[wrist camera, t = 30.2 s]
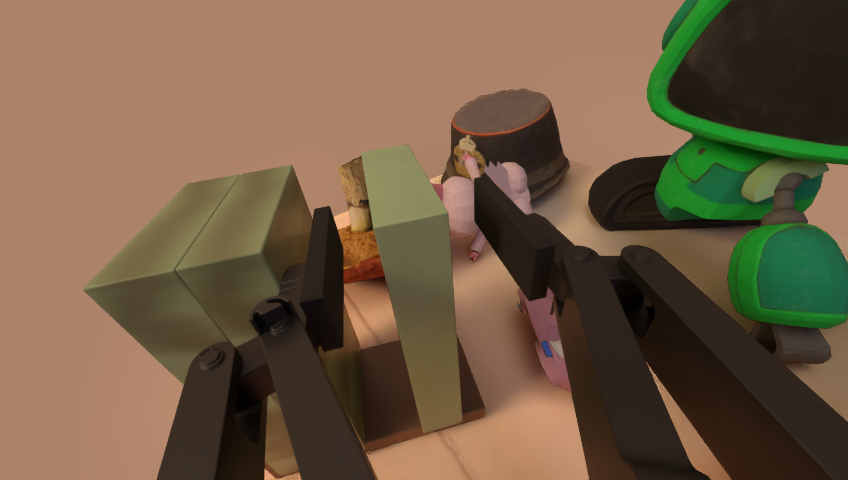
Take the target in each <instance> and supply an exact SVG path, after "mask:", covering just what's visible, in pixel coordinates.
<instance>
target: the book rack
mask: <svg viewBox="0 0 848 480" xmlns="http://www.w3.org/2000/svg"><path fill="white" fill-rule="evenodd" d="M312 221H313V219H312V216H311V214H310V211H309V208H308V206H307V203H306V200H305V198H304V195H303V192H302V190H301V187H300V184H299V182H298V179H297V177H296V174H295V171H294V168H293V166H291V165H290V166H284V167H279V168H274V169H267V170H262V171H256V172H251V173H246V174H241V175H234V176H228V177H223V178H217V179H211V180H206V181H200V182H195V183H189V184H187V185H186V186H185V187H184V188H183V189H182V190H181V191H180V192H179V193H178V194H177V195H176V196H175V197H174V198H173V199H172V200H171V201H170V202H169V203H168V204H167V205H166V206H165V207H164V208H163V209H162V210H161V211H160V212H159V213H158V214H157V215H156V216H155V217H154V218H153V219H152V220H151V221H150V222H149V223H148V224H147V225H146V226H145V227H144V228H143V229H142V230H141V231H140V232H139V233H138V234H137V235H136V236H135V237H134V238H133V239H132V240H131V241H130V242H129V243H128V244H127V245H126V246H125V247H124V248H123V249H122V250H121V251H120V252H119V253H118V254H117V255H116V256H115V257H114V258H113V259H112V260H111V261H110V262H109V263H108V264H107V265H106V266H105V267H104V268H103V269H102V270H101V271H100V272H99V273H98V274H97V275H96V276H95V277H94V278H93V279H92V280H91V281H90V282H89V283H88V284H87V285H86V286H85V287H84V288H83V291H84V292H85V293H86V294H88V295H89V296H90V297H91V298H92V299H93V300H94V301H95V302H96V303H97V304H98V305H99V306H100V307H101V308H102V309H104V310H105V311H106V312H107V313H108V314H109V315H110V316H111V317H112V318H113V319H114V320H115V321H116V322H117V323H119V324H120V326H122V327H123V328H124V329H125V330H126V331H127V332H128V333H129V334H130V335H131V336H132V337H133V338H134V339H135V340H137V342H139V343H140V344H141V345H142V346H143V347H144V348H145V349H146V350H147V351H148V352H149V353H150V354H151V355H152V356H154V358H156V359H157V360H158V361H159V362H160V363H161V364H162V365H163V366H164V367H165V368H166V369H167V370H168V371H169V372H170V373H171V374H173V375H174V376H175V377H176V378H177V379H178V380H179V381H180V382H181V383H182V384H183V385H184V383H185V379H186V376H187V373H188V369H189V366H190V364H191V362H192V361H193V359H194V358H195V357H196V356H197V355H198V354H199V353H200V352H201V351H203V350H204V349H205V348H207V347H209V346H211V345H213V344H215V343H219V342H230V343H231V344H232V345H233V346H234V347H237V346H239V345H241V344H243V343H245V342H247V341H249V340H251V339H253V338H255V337H257V336H258V333H257V332H256V330H255V329H254V327H253V326H252V324H251V323H250V321H249V315H250V313H251V311H252V309H253V308H254V307H255V306H256V305H257V304H258V303H260V302H261V301H263V300H265V299H266V298H269V297H272V296H278V294H279V292H280V286H281V282H282V278H283V274H284V273H285V271H286V270H287V269H288V268H289V266H290V265H295V264H299V263H304V262H306V258H307V252H308V246H309V240H310V234H311V228H312ZM457 347H458V362H459V376H460V391H461V406H462V421H463V422H461V423H457V424H454V425H451V426H447V427H444V428H440V429H437V430H434V431H430V432H427V433H423V431H422V426H421V422H420V418H419V414H418V410H417V406H416V402H415V398H414V394H413V389H412V385H411V381H410V377H409V373H408V369H407V365H406V361H405V357H404V352H403V348H402V344H401V340H398V341H394V342H390V343H387V344H383V345H379V346H375V347H371V348H367V349H363V350H360V344H359V342H358V339H357V336H356V334H355V331H354V328H353V326H352V323H351V320H350V318H349V315H348V312H347V310H346V307H345V304H344V347H343V348H339V349H334V350H330V351H326V352H323V350H322V348H321V346H320V345H319V356H320V358H321V360H322V362H323V364H324V366H325V368H326V370H327V372H328V375H329V377H330V379H331V381H332V383H333V385H334V387H335V389H336V392H337V394H338V396H339V398H340V400H341V402H342V404H343V407H344V409H345V411H346V413H347V415H348V417H349V419H350V421H351V424H352V426H353V428H354V430H355V432H356V434H357V436H358V438H359V441H360V443H361V445H362V447H363V449H364V451H365V452H368V451H371V450H375V449H378V448H381V447H385V446H388V445H392V444H395V443H398V442H402V441H405V440H408V439H412V438H415V437H418V436H422V435H425V434H429V433H432V432H435V431H439V430H442V429H445V428H449V427H452V426H455V425H459V424H462V423H466V422H469V421H472V420H476V419H479V418H482V417H485V406H484V404H483V401H482V398H481V396H480V393H479V391H478V388H477V385H476V383H475V380H474V378H473V375H472V372H471V370H470V367H469V364H468V362H467V359H466V357H465V354H464V351H463V349H462V346H461V344H460V341H459V338H458V336H457ZM265 469H266V470H267V471H269V473H271V474H272V475H273V476H274V477H275V478H276V479H277V478H281V477H284V476H287V475H291V474H294V473H297V472H299V469H298V466H297V462H296V459H295V455H294V452H293V448H292V445H291V442H290V438H289V435H288V431H287V428H286V424H285V421H284V418H283V414H282V411H281V407H280V404H279V400H278V397H277V394H276V392H275V393H273V394H271V395H269V396H268V403H267V425H266V448H265Z"/></svg>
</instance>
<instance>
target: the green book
mask: <svg viewBox="0 0 848 480" xmlns="http://www.w3.org/2000/svg"><path fill="white" fill-rule="evenodd" d="M361 157H362V163H363V169H364V175H365V181H366V187H367V193H368V199H369V205H370V211H371V217H372V223H373V229H374V233H375V237H376V241H377V245H378V250H379V254H380V258H381V262H382V266H383V270H384V274H385V278H386V282H387V287H388V291H389V295H390V299H391V303H392V307H393V311H394V315H395V319H396V324H397V328H398V332H399V336H400V340H401V344H402V348H403V352H404V357H405V361H406V365H407V369H408V373H409V377H410V381H411V385H412V389H413V394H414V398H415V402H416V406H417V410H418V414H419V418H420V422H421V426H422V431H423V433H427V432H430V431H434V430H437V429H440V428H444V427H447V426H451V425H454V424H457V423H461V422H463V421H462V406H461V391H460V376H459V362H458V347H457V332H456V317H455V303H454V288H453V273H452V258H451V244H450V229H449V214H448V211H447V210H446V208H445V206H444V204H443V203H442V201H441V199H440V198H439V196H438V194H437V193H436V191H435V189H434V188H433V186H432V184H431V182H430V181H429V179H428V178H427V176H426V174H425V172H424V171H423V169H422V167H421V166H420V164H419V162H418V160H417V159H416V157H415V155H414V154H413V152H412V150H411V149H410V147H409V145H408V144H406V145H401V146H395V147H389V148H384V149H378V150H372V151H367V152H362V153H361Z"/></svg>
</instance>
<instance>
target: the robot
mask: <svg viewBox="0 0 848 480" xmlns="http://www.w3.org/2000/svg"><path fill="white" fill-rule="evenodd" d="M662 50H663V51H664V52H663V54H662V55H661V57H660V59H659V60H658V62H657V64H656V66H655V67H654V69H653V71H652V72H651V75H650V79H649V83H648V87H647V100H648V102H649V105H650V107H651V110H652V112H653V113H655V115H656V116H658V117H659V118H661V119H662V120H664V121H665V122H667V123H669V124H670V125H672V126H675V127H677V128H680V129H682V130H685V131H687V132H690V133H692V136H693V137H692V138H691V139H690V140H689V141H687V142H686V143H685V144H684V145H683V146H681V147H680V148H679V149H678V150H677V151H676V152H674V153H673V154H672V155H666V156H653V157H641V158H633V159H629V160H626V161H622V162H620V163H617V164H615V165H613V166H612V167H610V168H609V169H608V170H606V171H605V172H604V173H602V174H601V175H600V176H599V177H597V178H596V179H595V181H594V182H593V184H592V186H591V188H590V191H589V200H588V204H589V207H590V211H591V213H592V215H593V216H594V217H595V219H596V220H597V221H598V222H599V224H600V225H601V226H602V227H603V228H604V229H606V230H609V231H613V230H636V229H669V228H697V227H722V226H749V225H750V226H759V225H760V226H759V227H757V228H755V229H753V230H751V231H749V232H748V233H747V234H746V235H745V236H744V237H743V238H742V239H741V240H740V241H739V242H738V243H737V244H736V246H735V247H734V250H733V253H732V256H731V259H730V264H729V271H728V278H727V280H728V285H729V291H730V296H731V301H732V304H733V306H734V308H735V310H736V311H738V312H739V313H741V314H742V315H743V316H745V317H746V318H748V319H751V320H755V321H757V322H756V324H755V326H754V327H753V329H752V331H751V333H750V335H751V336H752V337H753V338H754V339H755V340H757V341H758V342H759V343H760V344H761V345H762V346H763V347H764V348H766V349H767V350H768V351H769V352H770V353H771V354H772V355H773V356H775V357H776V358H777V359H778V360H779V361H786V362H797V363H808V364H821V363H824V362H826V361H828V360H829V359H830V357H831V351H830V346H829V345H828V343H827V342H826V340H825V339H824V337H823V336H822V334H821V332H820V331H819V329H818V328H821V329H827V328H831V327H834V326H836V325H839V324H841V323H844V322H845V321H846V320H847V318H848V315H847V313H848V263H847V261H846V259H845V257H844V256H843V254H842V252H841V249H840V248H839V246H838V244H837V243H836V241H835V240H834V239H833V238H832V237H831V236H830V235H828V234H827V233H826V232H825V231H823V230H821V229H820V228H818V227H816V226H813V225H809V224H807V223H808V220H807V218H806V216H805V215H804V213H803V212H804V211H805V210H806V209H807V208H808V207H809V206H810V205H811V204H812V202H813V200H814V198H815V196H816V195H817V193H818V191H819V189H820V187H821V182H822V177H823V173H824V172H826V171H828V170H829V168H828V167H827V165H826V163H832V164H844V165H848V0H686V1H685V2H684V3H683V5H682V6H681V7H680V9H679V10H678V11H677V13H676V14H675V15H674V17H673V19H672V20H671V22H670V24H669V25H668V28H667V29H666V31H665V33H664V36H663V40H662Z"/></svg>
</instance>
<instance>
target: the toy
mask: <svg viewBox="0 0 848 480" xmlns="http://www.w3.org/2000/svg"><path fill="white" fill-rule="evenodd" d="M465 154H466V155H464V154H462V155H463V157H464V158H462V157H461V158H462V159H463V160H464V161H465V163H464V164H465V166H466V168H467V171H468V173H469V175H470V177H471V180H470V179H468V178H463V177H456V176H454V177H451V178H449V179H448V180H446V181H445V182H444V183H443V184H432V186H433V188H434V189H435V191H436V193H437V194H438V196H439V198H440V199H441V201H442V203H443V204H444V206H445V208H446V210H447V211H448V214H449V229H450V234H452V235H454V236H456V237H459V238H465V237H468V236H470V235H471V234H473V233H474V232H476V231H477V230H478V231H477V233H476V236H475V238H474V240H473V243H472V245H471V248H470V249H472V251H471V253H470V255H469V256H470V258H472V257H473V259H474V262H475V260H476V258H477V257H478V255H479V254H480V253H482V251H483V247H484V243H485V239H486V238H485V236H484V235H483V233H482V232H481V230H480V229H479V227H478V226H477V224H476V223H475V222H474V178H477V177H481V176H480V172H479V169H478V166H477V162H476V159H475V158H473V157H472V156H469V155H468V153H467V152H466V150H465ZM489 168H490V169H491V170H492V171H491V170H490V169H489ZM489 168H488V167H487V166H486V165H485V168H484V172H485V173H486V174H487V175H488V176H489V177H490V178H491V179H492V181H493V182H494V183H495V184H496V185H497V186H498V187H499V188H500V189H501V190H502V191H503V192H504V193H505V194H506V195H507V196H508V197H509V198H510V199H511V200H512V201H513V202H514V203H515V204H516V205H517V206H518V207H519V208H520V209H521V210H522V211H523V212H524V213H525V214H526V215H527V214H532V213H533V210H532V207H531V205H530V193H529V190H528V187H527V175H526V173H525V170H524V169H523V168H522V167H521V166H519V165H518V164H517V163H514V162H505V163H503V164H500V163H499V162H498V163H497V167H496V166H495V165H494V164H493V163H492V162H491V161H490V163H489ZM470 258H469V259H470Z"/></svg>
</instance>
